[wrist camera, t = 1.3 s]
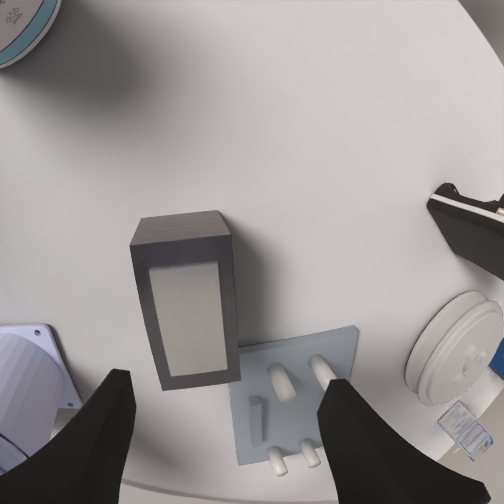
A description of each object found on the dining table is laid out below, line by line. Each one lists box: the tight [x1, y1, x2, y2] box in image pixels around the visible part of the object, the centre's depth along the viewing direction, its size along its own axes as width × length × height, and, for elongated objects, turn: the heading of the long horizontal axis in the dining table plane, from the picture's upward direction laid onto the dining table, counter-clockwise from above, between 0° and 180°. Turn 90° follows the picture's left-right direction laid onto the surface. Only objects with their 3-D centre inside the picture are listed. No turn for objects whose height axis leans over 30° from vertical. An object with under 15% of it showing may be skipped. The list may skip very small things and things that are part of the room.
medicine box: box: [438, 401, 493, 461], centre depth 32 cm, size 8×4×9 cm, turn 44°
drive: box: [130, 210, 241, 391], centre depth 17 cm, size 4×8×5 cm, turn 2°
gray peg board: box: [229, 325, 358, 476], centre depth 23 cm, size 10×15×4 cm, turn 2°
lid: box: [405, 291, 503, 406], centre depth 26 cm, size 13×13×5 cm
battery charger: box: [427, 183, 504, 281], centre depth 17 cm, size 7×4×11 cm, turn 48°
